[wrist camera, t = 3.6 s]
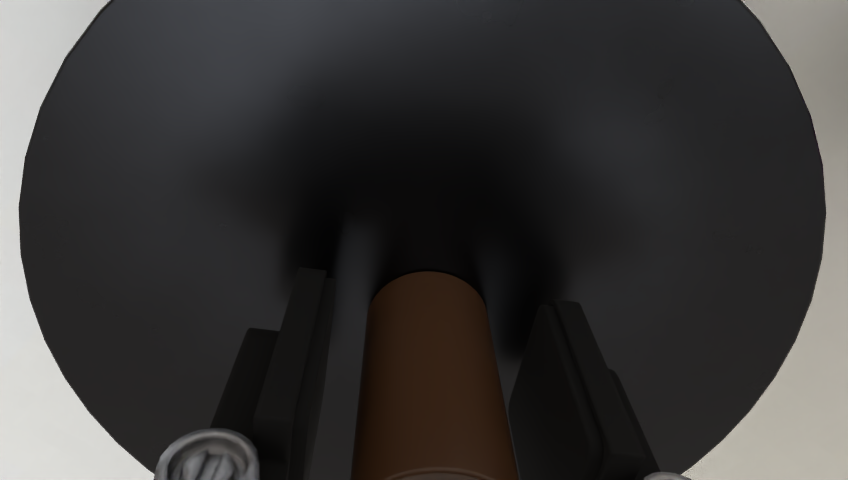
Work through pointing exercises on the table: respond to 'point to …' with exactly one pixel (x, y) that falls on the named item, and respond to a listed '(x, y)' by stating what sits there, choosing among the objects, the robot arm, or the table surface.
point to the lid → (422, 213)
